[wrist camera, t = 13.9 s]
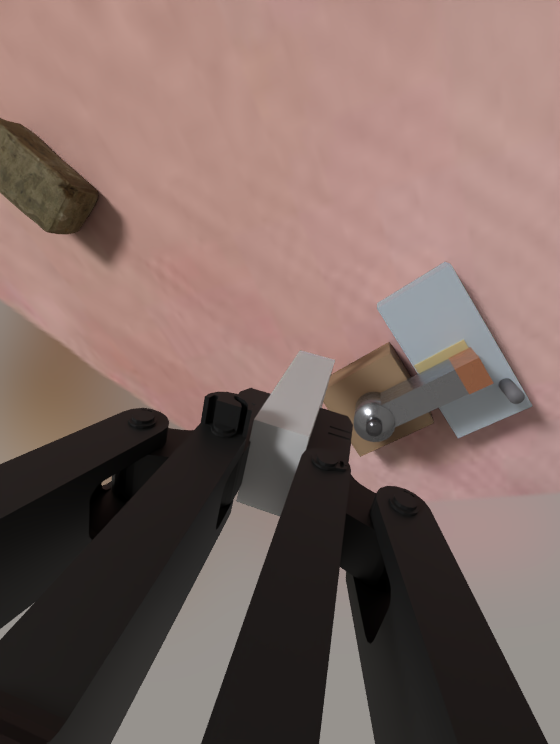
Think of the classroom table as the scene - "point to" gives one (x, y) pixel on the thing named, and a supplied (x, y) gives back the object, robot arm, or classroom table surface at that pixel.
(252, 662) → the robot arm
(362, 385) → the block
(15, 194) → the stone block
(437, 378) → the latch bar
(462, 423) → the grey block with peg
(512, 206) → the classroom table surface
